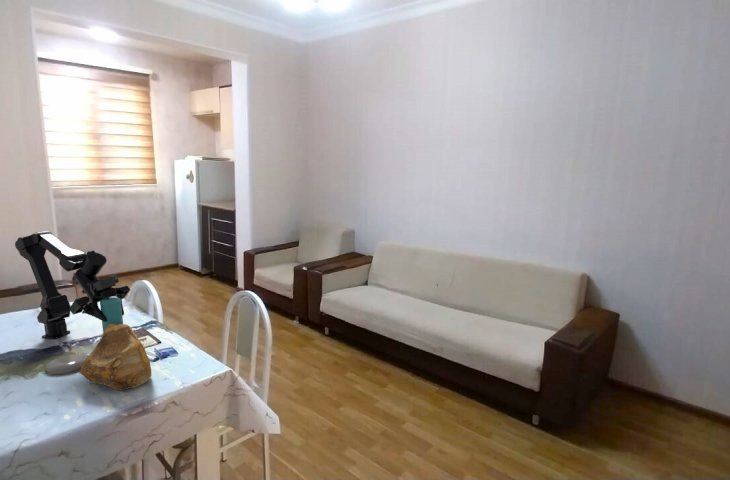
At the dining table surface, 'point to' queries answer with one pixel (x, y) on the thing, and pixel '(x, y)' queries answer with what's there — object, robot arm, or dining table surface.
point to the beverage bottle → (111, 308)
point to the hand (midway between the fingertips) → (114, 318)
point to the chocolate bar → (146, 337)
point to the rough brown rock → (118, 360)
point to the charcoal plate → (66, 364)
